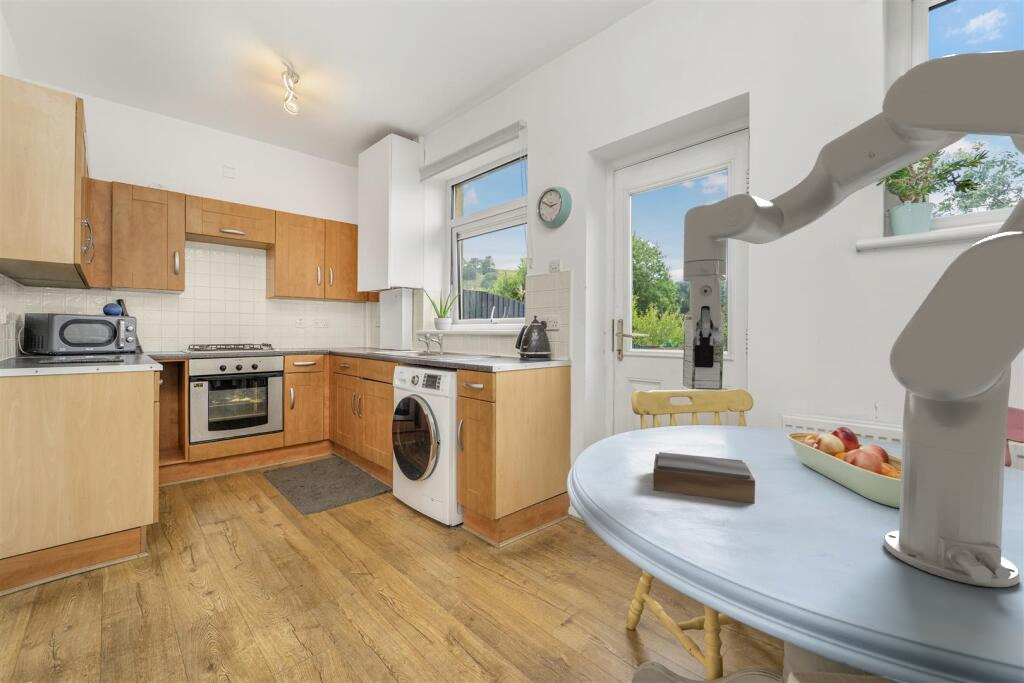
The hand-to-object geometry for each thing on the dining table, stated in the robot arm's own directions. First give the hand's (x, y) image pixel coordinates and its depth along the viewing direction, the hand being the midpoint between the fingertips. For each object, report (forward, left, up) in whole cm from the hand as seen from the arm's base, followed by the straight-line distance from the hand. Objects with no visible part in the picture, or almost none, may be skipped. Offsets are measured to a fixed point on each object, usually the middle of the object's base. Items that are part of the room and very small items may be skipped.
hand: (702, 364), depth 84 cm
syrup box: (0, 0, -5) cm, 5 cm away
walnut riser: (0, 0, -24) cm, 24 cm away
